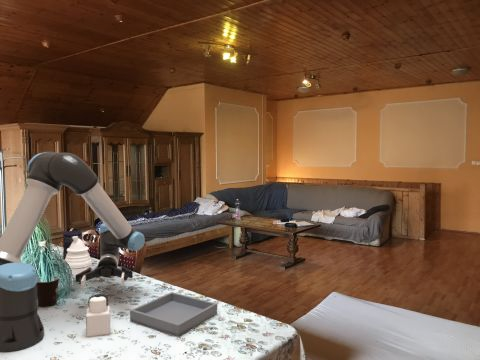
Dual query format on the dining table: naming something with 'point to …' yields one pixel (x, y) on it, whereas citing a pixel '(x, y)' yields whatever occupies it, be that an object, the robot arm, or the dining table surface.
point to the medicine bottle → (98, 316)
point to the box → (173, 313)
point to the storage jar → (69, 240)
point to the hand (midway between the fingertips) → (102, 283)
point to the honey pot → (78, 256)
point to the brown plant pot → (47, 292)
